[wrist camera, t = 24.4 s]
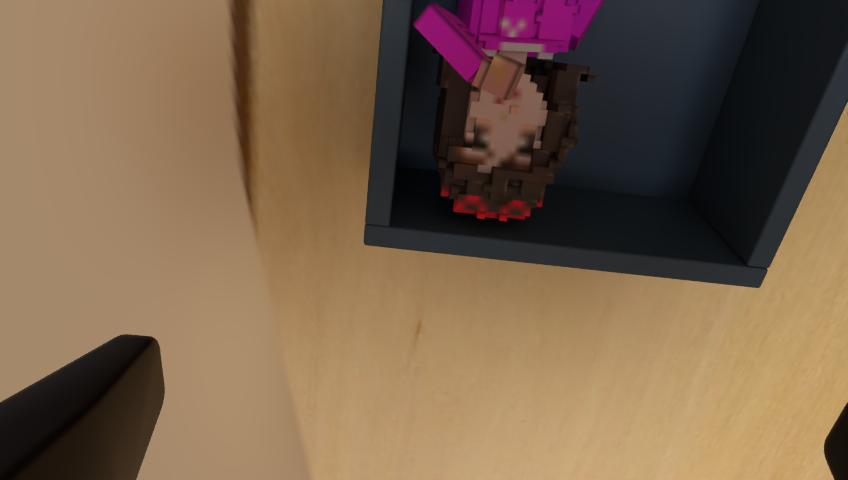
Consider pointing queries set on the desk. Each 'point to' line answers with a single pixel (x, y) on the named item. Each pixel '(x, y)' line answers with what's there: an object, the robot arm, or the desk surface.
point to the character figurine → (504, 99)
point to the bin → (635, 140)
